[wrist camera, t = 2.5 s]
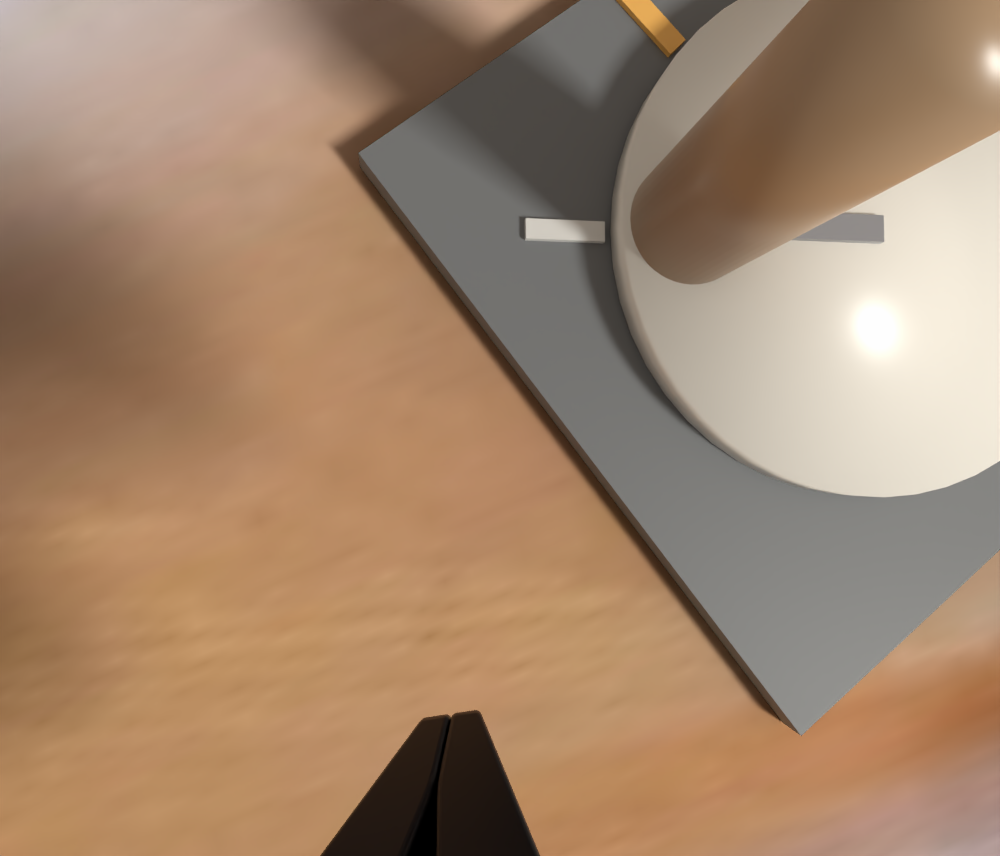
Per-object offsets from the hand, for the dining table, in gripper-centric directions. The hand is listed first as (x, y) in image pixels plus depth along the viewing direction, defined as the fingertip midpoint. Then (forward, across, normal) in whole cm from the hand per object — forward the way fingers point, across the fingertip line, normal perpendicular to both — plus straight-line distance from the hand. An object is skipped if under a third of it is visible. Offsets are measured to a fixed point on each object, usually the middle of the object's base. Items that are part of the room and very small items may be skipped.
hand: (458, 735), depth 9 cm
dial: (+15, +13, +2) cm, 20 cm away
